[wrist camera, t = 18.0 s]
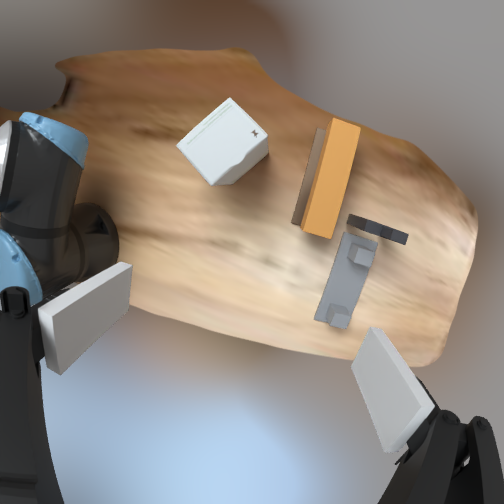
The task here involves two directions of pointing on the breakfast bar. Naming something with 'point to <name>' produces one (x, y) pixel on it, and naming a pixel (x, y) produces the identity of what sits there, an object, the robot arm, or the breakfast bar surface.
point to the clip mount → (346, 280)
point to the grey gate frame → (377, 229)
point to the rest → (309, 176)
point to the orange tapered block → (330, 178)
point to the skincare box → (225, 144)
